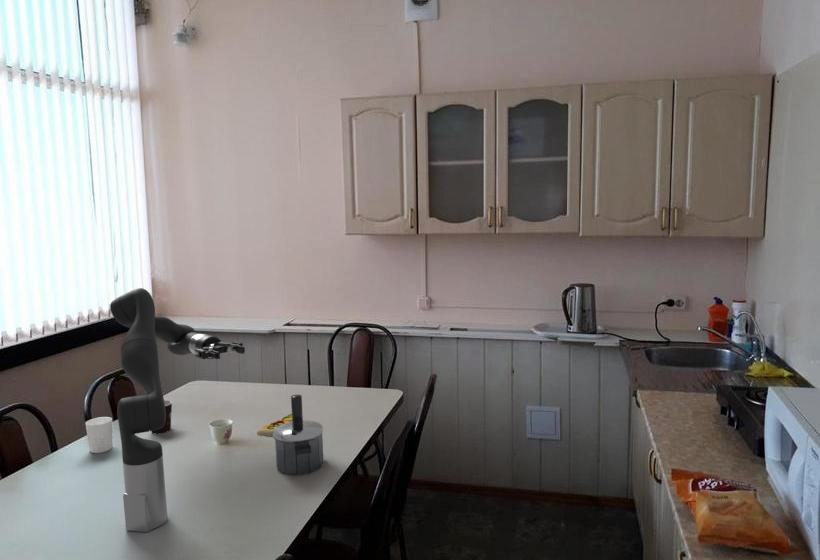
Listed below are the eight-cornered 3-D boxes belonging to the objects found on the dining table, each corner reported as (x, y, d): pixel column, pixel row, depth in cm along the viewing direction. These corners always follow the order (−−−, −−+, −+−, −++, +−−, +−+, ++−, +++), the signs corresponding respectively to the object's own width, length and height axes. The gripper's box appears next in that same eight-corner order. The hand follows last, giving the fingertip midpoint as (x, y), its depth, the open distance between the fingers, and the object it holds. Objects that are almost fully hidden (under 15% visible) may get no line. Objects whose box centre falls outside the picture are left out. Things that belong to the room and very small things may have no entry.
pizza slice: (255, 437, 206) (254, 429, 206) (274, 417, 227) (274, 409, 226) (297, 438, 204) (297, 430, 204) (313, 417, 225) (313, 410, 224)
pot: (328, 474, 175) (327, 442, 173) (280, 482, 170) (279, 449, 169) (317, 449, 193) (315, 420, 192) (273, 455, 189) (272, 426, 188)
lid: (316, 443, 173) (314, 404, 171) (266, 443, 174) (264, 404, 172) (327, 425, 187) (326, 388, 186) (281, 424, 189) (279, 388, 187)
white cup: (83, 451, 196) (80, 422, 195) (104, 443, 203) (102, 415, 202) (97, 455, 193) (95, 426, 191) (119, 447, 200) (117, 418, 198)
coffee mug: (164, 435, 209) (162, 408, 208) (143, 434, 211) (141, 407, 209) (183, 423, 220) (181, 398, 219) (162, 422, 222) (160, 397, 221)
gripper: (183, 338, 188) (209, 345, 177) (224, 331, 199) (250, 337, 188) (185, 361, 189) (211, 369, 178) (225, 352, 199) (252, 360, 189)
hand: (231, 353), depth 183 cm, fingers open, 8 cm apart
